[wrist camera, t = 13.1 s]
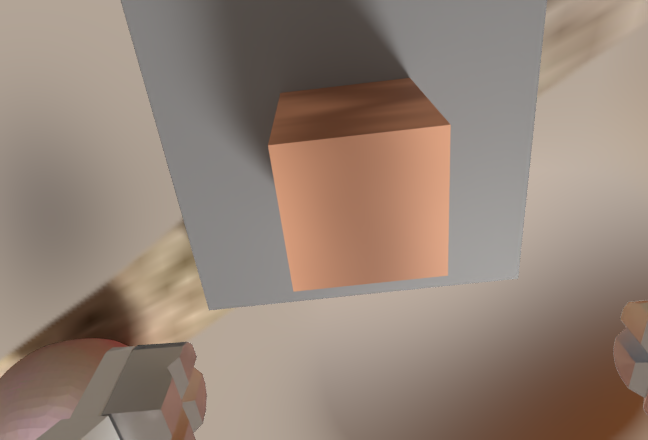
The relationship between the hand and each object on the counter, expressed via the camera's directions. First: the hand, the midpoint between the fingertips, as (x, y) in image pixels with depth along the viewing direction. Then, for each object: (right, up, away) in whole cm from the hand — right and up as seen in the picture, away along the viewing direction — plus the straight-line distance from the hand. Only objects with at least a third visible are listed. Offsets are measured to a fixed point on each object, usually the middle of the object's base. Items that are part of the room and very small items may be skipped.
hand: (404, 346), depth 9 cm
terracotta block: (0, +5, +10) cm, 12 cm away
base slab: (-1, +7, +14) cm, 16 cm away
